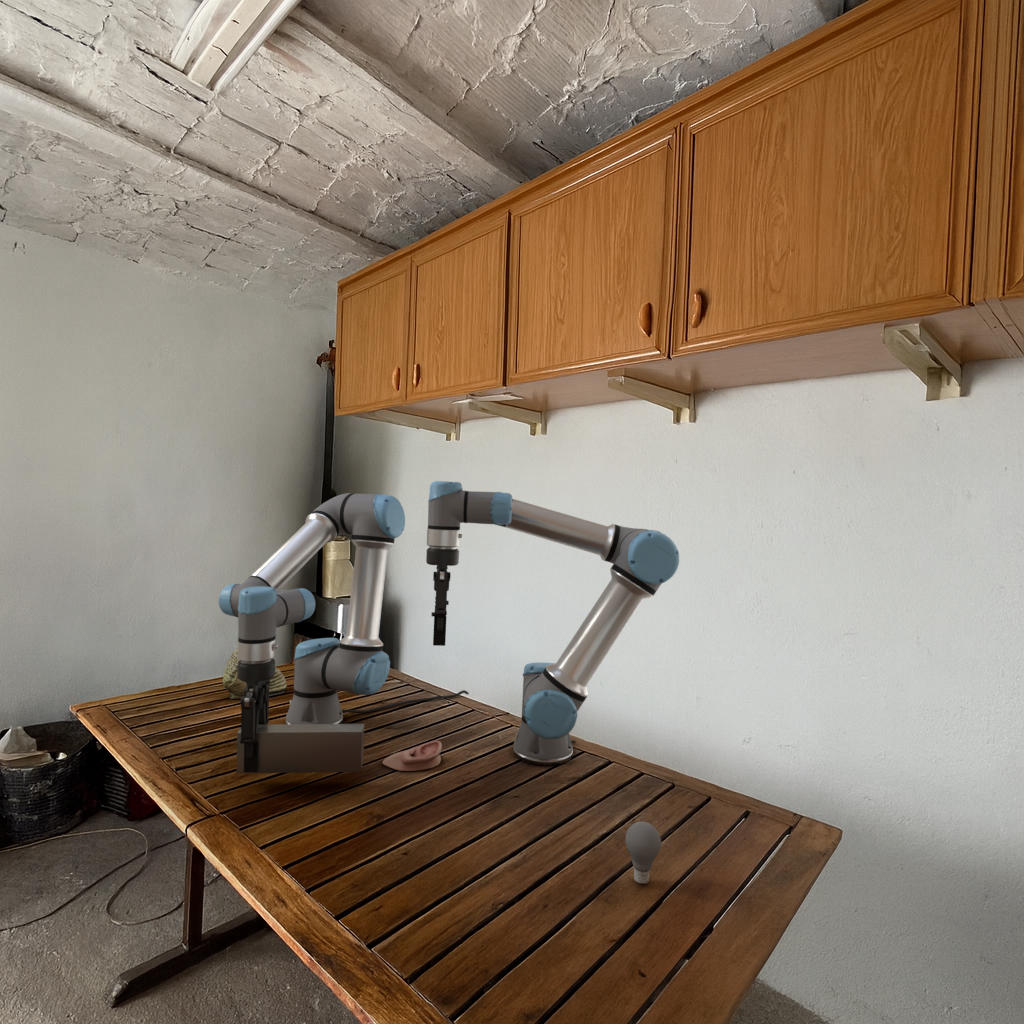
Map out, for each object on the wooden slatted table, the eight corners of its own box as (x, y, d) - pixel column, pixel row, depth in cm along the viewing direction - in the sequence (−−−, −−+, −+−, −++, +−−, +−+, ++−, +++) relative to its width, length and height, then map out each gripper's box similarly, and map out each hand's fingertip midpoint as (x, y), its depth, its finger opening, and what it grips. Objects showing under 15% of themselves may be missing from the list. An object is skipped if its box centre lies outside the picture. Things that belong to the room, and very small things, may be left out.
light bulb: (619, 871, 111) (622, 814, 111) (652, 871, 112) (655, 814, 111) (628, 892, 105) (631, 832, 105) (663, 892, 106) (666, 832, 105)
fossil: (218, 695, 195) (220, 647, 195) (278, 685, 208) (279, 640, 207) (228, 703, 189) (230, 653, 188) (289, 692, 201) (290, 645, 201)
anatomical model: (377, 751, 149) (396, 733, 160) (377, 767, 149) (395, 749, 160) (431, 758, 146) (446, 740, 157) (430, 775, 146) (445, 756, 157)
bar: (236, 773, 135) (237, 732, 134) (243, 764, 139) (243, 724, 139) (360, 771, 137) (361, 731, 137) (363, 762, 142) (364, 723, 142)
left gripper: (263, 671, 128) (260, 784, 129) (284, 648, 145) (282, 748, 146) (224, 671, 127) (222, 785, 128) (250, 648, 144) (248, 749, 145)
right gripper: (460, 552, 135) (456, 651, 136) (457, 544, 160) (454, 627, 160) (425, 551, 134) (421, 651, 135) (428, 543, 159) (424, 627, 160)
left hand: (254, 765), depth 137 cm, fingers closed on bar, 5 cm apart
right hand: (439, 638), depth 148 cm, fingers open, 13 cm apart
